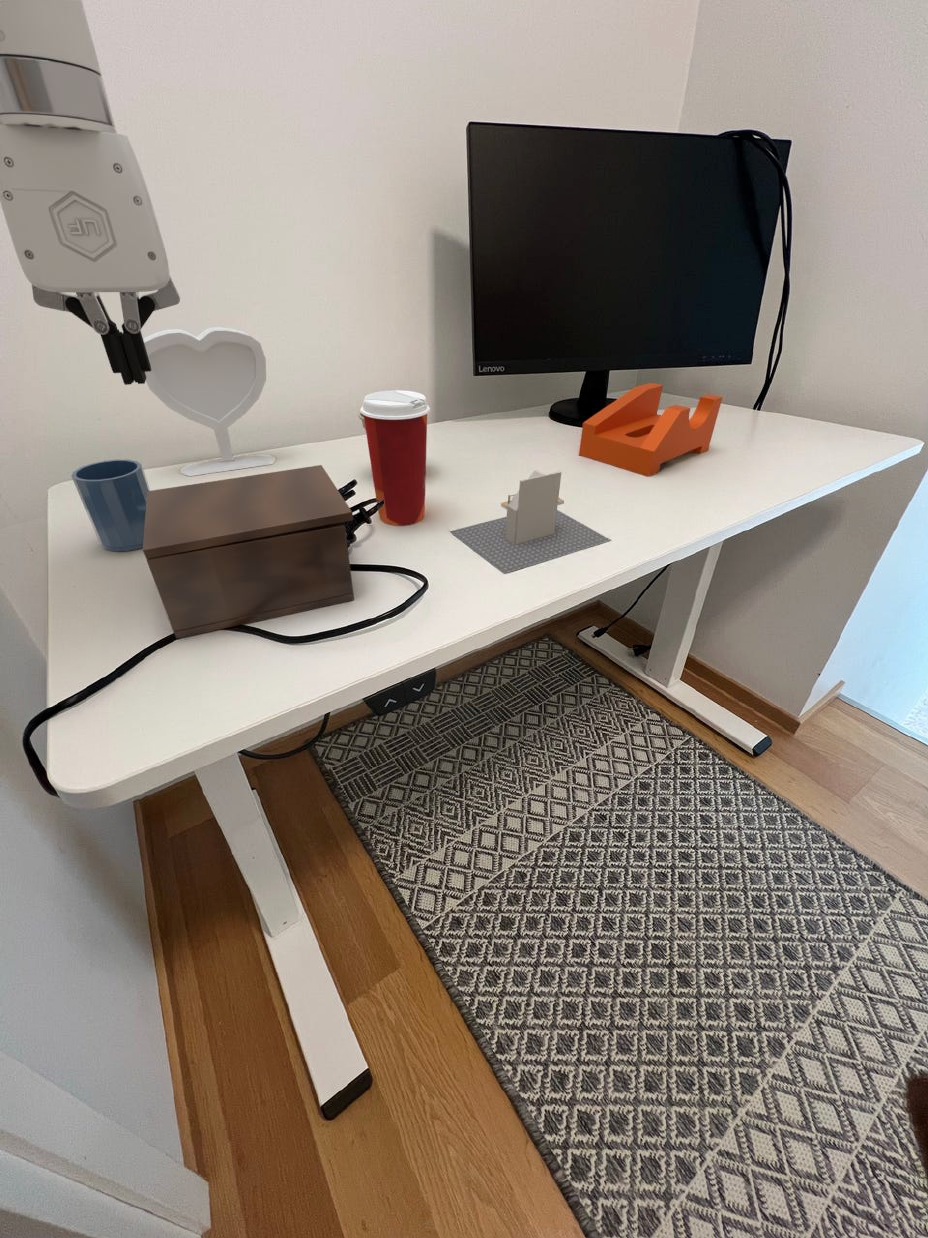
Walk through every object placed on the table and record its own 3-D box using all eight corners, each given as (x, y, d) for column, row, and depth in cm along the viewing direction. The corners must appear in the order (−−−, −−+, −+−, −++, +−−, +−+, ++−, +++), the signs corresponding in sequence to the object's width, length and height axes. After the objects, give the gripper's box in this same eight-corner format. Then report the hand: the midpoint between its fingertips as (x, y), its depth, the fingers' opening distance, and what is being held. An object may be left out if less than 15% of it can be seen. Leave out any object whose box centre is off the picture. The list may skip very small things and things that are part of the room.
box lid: (322, 472, 57) (321, 464, 56) (353, 520, 47) (352, 511, 47) (149, 498, 51) (146, 490, 51) (146, 559, 42) (142, 550, 42)
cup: (98, 556, 58) (67, 484, 54) (103, 531, 63) (75, 463, 58) (164, 545, 60) (140, 475, 56) (164, 522, 65) (142, 456, 60)
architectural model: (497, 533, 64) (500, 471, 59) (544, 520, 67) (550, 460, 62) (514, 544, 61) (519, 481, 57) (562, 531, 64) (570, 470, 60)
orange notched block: (640, 432, 97) (650, 382, 92) (708, 450, 89) (722, 396, 84) (578, 454, 87) (586, 400, 82) (648, 476, 79) (661, 417, 74)
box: (325, 543, 61) (315, 476, 57) (354, 600, 52) (344, 525, 47) (174, 570, 56) (149, 499, 51) (176, 639, 47) (146, 559, 42)
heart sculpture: (173, 478, 76) (129, 335, 66) (171, 467, 80) (129, 330, 70) (285, 462, 82) (261, 328, 72) (278, 452, 86) (254, 323, 76)
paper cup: (444, 512, 68) (443, 394, 60) (407, 535, 63) (400, 410, 55) (395, 498, 72) (388, 385, 63) (356, 519, 66) (342, 399, 58)
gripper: (-102, 83, 34) (29, 396, 44) (165, 108, 38) (225, 384, 49) (-60, 105, 39) (47, 377, 50) (168, 123, 44) (221, 368, 55)
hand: (135, 380), depth 49 cm, fingers closed
